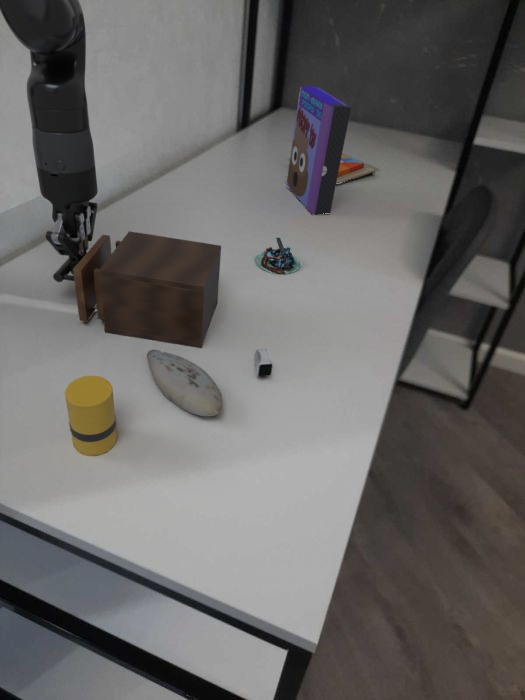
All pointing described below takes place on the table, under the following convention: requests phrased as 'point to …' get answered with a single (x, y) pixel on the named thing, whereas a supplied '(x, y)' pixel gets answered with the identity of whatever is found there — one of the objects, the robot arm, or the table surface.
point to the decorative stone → (185, 383)
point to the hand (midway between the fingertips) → (80, 273)
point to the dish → (278, 260)
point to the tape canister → (91, 415)
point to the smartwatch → (263, 362)
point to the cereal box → (317, 148)
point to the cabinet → (160, 288)
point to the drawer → (88, 278)
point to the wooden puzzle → (351, 169)
